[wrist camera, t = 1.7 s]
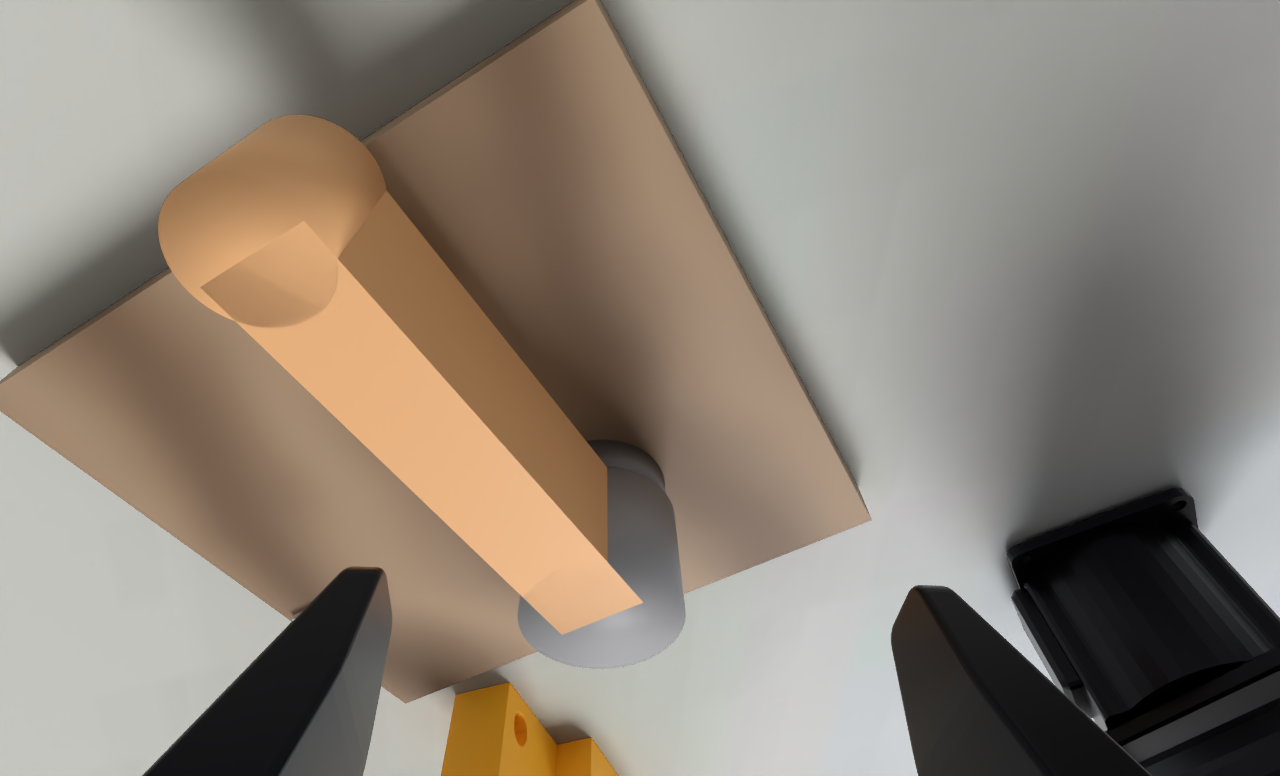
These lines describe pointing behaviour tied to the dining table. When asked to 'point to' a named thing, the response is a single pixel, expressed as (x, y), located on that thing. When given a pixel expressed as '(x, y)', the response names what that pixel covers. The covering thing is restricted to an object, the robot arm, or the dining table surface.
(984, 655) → the robot arm
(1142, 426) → the dining table surface
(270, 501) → the mount plate
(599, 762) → the pipe clamp
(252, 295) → the latch lever
